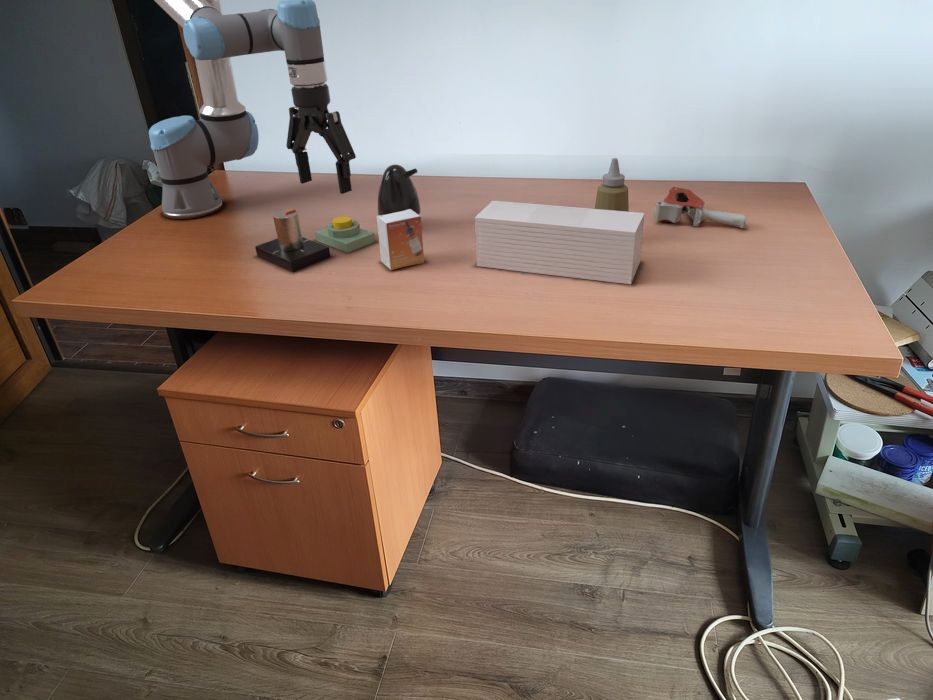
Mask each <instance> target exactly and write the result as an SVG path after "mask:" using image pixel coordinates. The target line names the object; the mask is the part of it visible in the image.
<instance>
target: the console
mask: <svg viewBox="0 0 933 700" xmlns="http://www.w3.org/2000/svg"><path fill="white" fill-rule="evenodd" d="M302 239H303V247H302V248H300V249H297V250H293V251H283V250H281V249H280V247H279V243H278V238H275V239H272V240H269V241H266V242H263V243H261V244H258V245H255V246H254V249H255V253H256V257H257V258H260V259H262V260H263V261H266V262H268V263H270V264H272V265H275V266H278V267H280V268H282V269H284V270H287V271H289V272H291V273H295V272H297V271H300V270H303V269H305V268H308V267H310V266H312V265H315V264H317V263H321V262H323V261H325V260H328V259H331V250H330V246H328V245H326V244H323V243H320V242H318V241H314V240H311V239H309V238H306V237H304V236H302Z"/></svg>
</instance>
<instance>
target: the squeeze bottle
mask: <svg viewBox="0 0 933 700" xmlns="http://www.w3.org/2000/svg"><path fill="white" fill-rule="evenodd" d="M619 164H620V163H619V159H618V158H617V157H612V158H611V162H610V164H609V168H608V173H604V174H603V175H602V180H601V181H602V183H601V184H600V185H599V186H597V191H596V197H595V203H594V209H601V210H614V211H626V212H630V205H629V203H630V202H629V187H628V186H627V185H626V184H625V179H626V178H625V175H624V174H623V173H621V172H620V165H619Z"/></svg>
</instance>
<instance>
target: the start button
mask: <svg viewBox="0 0 933 700" xmlns="http://www.w3.org/2000/svg"><path fill="white" fill-rule="evenodd" d="M352 220H353V218H352V217H351V216H348V215H344V216H343V215H342V216H337V217H334V218H333V219H332V222H333V227H334V228H335V229H346V228H350V227H352V226H353V224H352Z"/></svg>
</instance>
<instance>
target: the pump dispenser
mask: <svg viewBox="0 0 933 700" xmlns="http://www.w3.org/2000/svg"><path fill="white" fill-rule="evenodd" d="M417 173H418V169H417V168H412V169H410V170H407V169H406V168H405V167H404V166H402V165H400V164H391V165H389V166H387V167H386V168H385V169H384V172H383V173H382V176H381V179H380V184H379V187H378V193H377V216H379V215H386V214H391V213H396V212H400V211H405V210H408V209H411V210H413V211H414V212H415V213H417V214H418V215H420V214H421V212H422V211H421V204H420V199H419V195H418V192H417V188H416V186H415V183H414V182H413V180H412V178H411V177H413V176H414V175H415V174H417Z"/></svg>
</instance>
